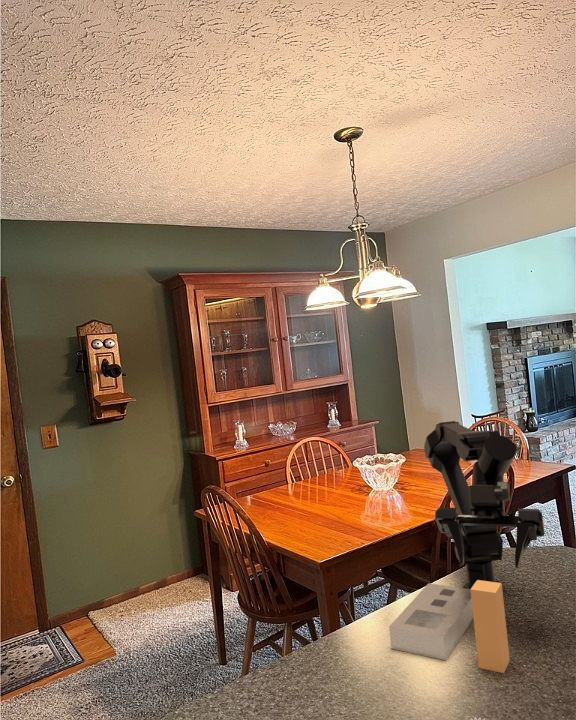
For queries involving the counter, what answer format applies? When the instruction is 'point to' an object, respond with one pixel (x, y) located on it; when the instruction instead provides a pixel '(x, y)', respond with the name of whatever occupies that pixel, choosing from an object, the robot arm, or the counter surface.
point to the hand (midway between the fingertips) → (489, 565)
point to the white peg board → (433, 621)
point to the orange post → (490, 626)
